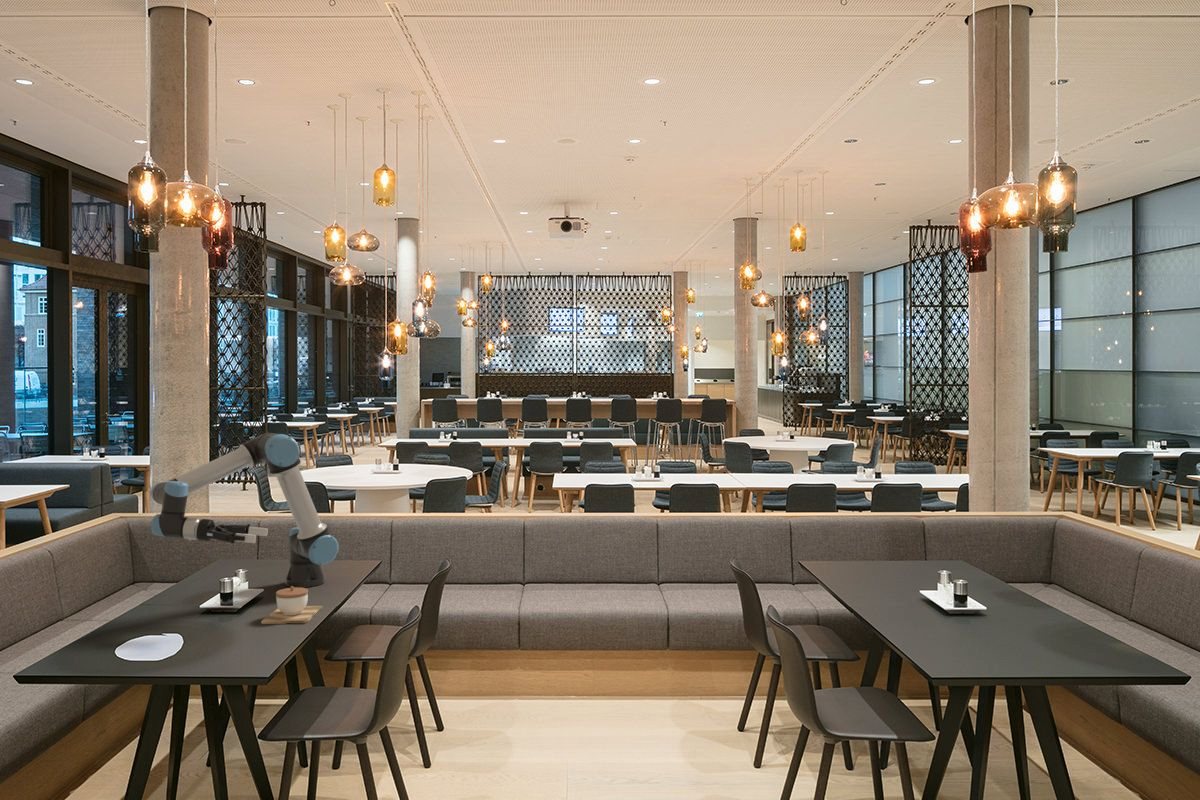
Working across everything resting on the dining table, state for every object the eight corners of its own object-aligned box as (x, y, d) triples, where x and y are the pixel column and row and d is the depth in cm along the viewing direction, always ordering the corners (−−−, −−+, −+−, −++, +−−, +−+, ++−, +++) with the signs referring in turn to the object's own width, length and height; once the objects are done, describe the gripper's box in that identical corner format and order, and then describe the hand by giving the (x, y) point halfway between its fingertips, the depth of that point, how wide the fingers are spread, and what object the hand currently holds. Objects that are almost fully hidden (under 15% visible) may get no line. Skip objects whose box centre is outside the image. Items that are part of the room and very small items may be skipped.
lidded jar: (298, 618, 299) (297, 591, 298) (269, 616, 301) (269, 589, 301) (314, 609, 309) (313, 583, 309) (286, 608, 311) (286, 582, 311)
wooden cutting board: (280, 608, 314) (280, 606, 314) (322, 608, 314) (322, 605, 314) (261, 623, 296) (261, 620, 296) (305, 623, 296) (305, 620, 296)
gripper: (211, 533, 318) (270, 539, 320) (184, 546, 293) (248, 553, 295) (213, 513, 318) (273, 519, 319) (186, 524, 293) (251, 531, 295)
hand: (261, 535), depth 307 cm, fingers open, 13 cm apart
